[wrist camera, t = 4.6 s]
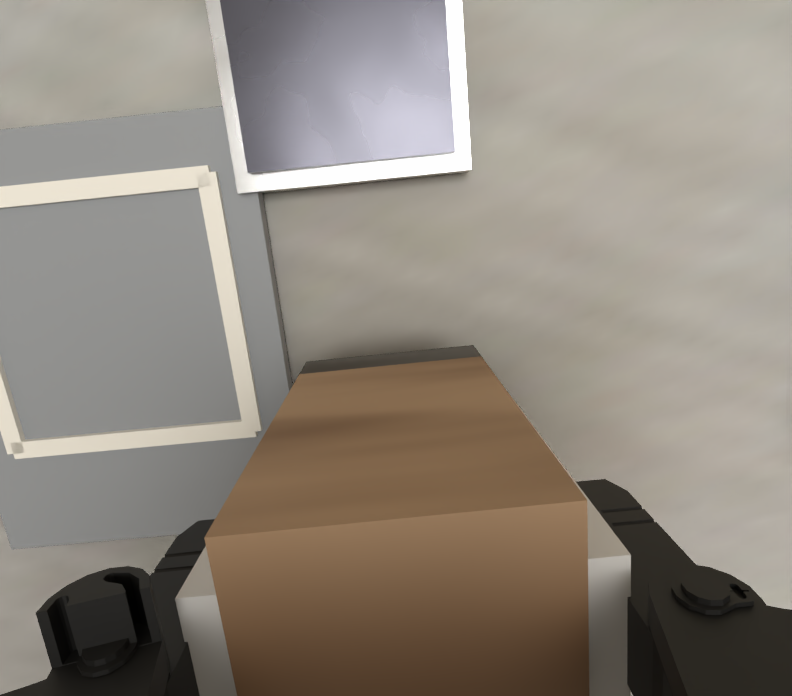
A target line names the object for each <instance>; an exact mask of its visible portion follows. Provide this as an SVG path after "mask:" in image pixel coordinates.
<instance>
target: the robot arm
mask: <svg viewBox="0 0 792 696" xmlns="http://www.w3.org/2000/svg"><path fill="white" fill-rule="evenodd" d="M512 399H513V398H512ZM513 400H514V399H513ZM515 403H516V402H515ZM516 404H517V403H516ZM517 406H518V405H517ZM518 407H519V406H518ZM519 408H520V407H519ZM520 410H521V409H520ZM521 411H522V410H521ZM522 412H523V411H522ZM523 414H524V413H523ZM524 415H525V414H524ZM525 416H526V415H525ZM526 418H527V417H526ZM527 419H528V418H527ZM528 420H529V419H528ZM529 422H530V421H529ZM530 423H531V422H530ZM531 425H532V423H531ZM532 426H533V425H532ZM533 427H534V426H533ZM534 429H535V427H534ZM535 430H536V429H535ZM536 431H537V430H536ZM537 433H538V431H537ZM538 434H539V433H538ZM539 435H540V434H539ZM540 437H541V435H540ZM541 438H542V437H541ZM542 439H543V438H542ZM543 441H544V442H545V440H544V439H543ZM545 444H546V445H547V446H548V444H547V443H546V442H545ZM548 448H549V449H550V450H551V448H550V447H549V446H548ZM551 452H552V453H553V454H554V452H553V451H552V450H551ZM554 456H555V457H556V458H557V456H556V455H555V454H554ZM557 460H558V461H559V463H560V464H561V465H562V467H563V468H564V469H565V471H566V472H567V473H568V475H569V476H570V477H571V479H572V480H573V482H574V483H575V484H576V486H577V487H578V488H579V490H580V491H581V492H582V494H583V495H584V496H585V498H586V499H587V515H588V610H589V696H630V690H631V692H632V694H633V696H792V610H789V609H782V608H777V607H771V606H766V604H765V603H764V601H763V600H762V599H761V598H760V597H759V596H758V595H757V594H756V592H755V591H754V590H753V589H752V588H751V587H750V586H748V585H747V584H745V583H743V582H742V581H740V580H738V579H737V578H735V577H733V576H732V575H730V574H727V573H724V572H721V571H718V570H716V569H713V568H710V567H705V566H698V565H696V564H695V563H694V562H693V561H692V560H691V559H690V558H689V557H688V556H687V555H686V554H685V553H684V551H683V550H682V549H681V548H680V547H679V546H678V545H677V544H676V543H675V542H674V541H673V540H672V539H671V537H670V536H669V535H668V534H667V533H666V532H665V531H664V530H663V529H662V528H661V527H660V526H659V525H658V523H657V522H655V523H654V520H653V518H652V517H651V516H650V515H649V514H648V513H647V512H646V511H645V509H642V507H641V505H640V504H639V503H638V502H637V501H636V500H635V499H634V498H633V497H632V495H631V494H630V493H629V492H628V491H626V490H625V489H623V488H621V487H619V486H617V485H615V484H613V483H611V482H609V481H608V480H606V479H601V480H591V481H581V482H575V480H574V479H573V478H572V476H571V475H570V474H569V472H568V471H567V470H566V468H565V467H564V466H563V464H562V463H561V462H560V460H559V459H558V458H557ZM214 520H215V519H210V520H199V521H197V522H196V523H194V524H193V525H192V526H190V527H189V528H188V529H187V530H185V531H184V532H183V533H181V534H180V535H179V536H177V538H176V539H175V541H174V542H173V544H172V545H171V546H170V548H169V549H168V551H167V552H166V554H165V558H162V560H161V561H160V562H159V564H158V565H157V567H156V568H155V573H152V574H151V575H150V576H149V575H148V574H147V573H146V572H145V571H144V570H143V569H140V568H135V567H129V566H126V567H117V568H109V569H106V570H103V571H99V572H96V573H93V574H90V575H87V576H85V577H83V578H81V579H79V580H77V581H75V582H73V583H71V584H69V585H67V586H66V587H64V588H63V589H61V590H60V591H59V592H57V593H56V594H54V595H53V596H52V597H50V598H49V599H48V600H47V601H46V602H45V603H44V604H43V606H42V607H41V608H40V609H39V610H38V611H37V612H36V615H37V619H38V622H39V625H40V629H41V632H42V636H43V639H44V642H45V646H46V649H47V653H48V656H49V659H50V663H51V666H52V670H51V672H50V674H49V676H48V678H47V679H45V680H43V681H40V682H38V683H35V684H32V685H29V686H26V687H23V688H20V689H17V690H14V691H11V692H8V693H5V694H2V695H0V696H237V693H236V688H235V683H234V678H233V674H232V669H231V664H230V659H229V654H228V650H227V645H226V640H225V635H224V630H223V626H222V621H221V616H220V611H219V606H218V602H217V597H216V592H215V587H214V582H213V578H212V573H211V568H210V563H209V558H208V554H207V549H206V544H205V539H204V537H205V536H206V534H207V532H208V531H209V529H210V527H211V525H212V524H213V522H214Z"/></svg>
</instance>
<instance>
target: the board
mask: <svg viewBox="0 0 792 696" xmlns="http://www.w3.org/2000/svg"><path fill="white" fill-rule="evenodd" d="M291 388H292V380H291V373H290V367H289V360H288V354H287V347H286V341H285V335H284V328H283V322H282V315H281V309H280V303H279V296H278V290H277V283H276V277H275V270H274V264H273V258H272V251H271V245H270V238H269V232H268V226H267V219H266V213H265V206H264V200H263V193H258V192H257V193H247V194H238V193H237V187H236V181H235V175H234V169H233V163H232V157H231V151H230V145H229V139H228V133H227V127H226V122H225V116H224V110H223V106H219V107H210V108H200V109H191V110H181V111H172V112H162V113H153V114H144V115H134V116H125V117H115V118H106V119H96V120H87V121H77V122H68V123H58V124H49V125H40V126H30V127H21V128H11V129H2V130H0V515H1V518H2V521H3V524H4V527H5V530H6V534H7V537H8V540H9V543H10V546H11V549H22V548H33V547H44V546H56V545H67V544H78V543H89V542H101V541H112V540H123V539H134V538H146V537H157V536H168V535H179V534H181V533H183V532H184V531H185V530H187V529H188V528H189V527H190V526H192V525H193V524H194V523H196V522H197V521H199V520H210V519H215V518H216V517H217V515H218V513H219V512H220V510H221V508H222V506H223V505H224V503H225V501H226V500H227V498H228V496H229V494H230V493H231V491H232V489H233V488H234V486H235V484H236V482H237V481H238V479H239V477H240V476H241V474H242V472H243V470H244V469H245V467H246V465H247V463H248V462H249V460H250V458H251V457H252V455H253V453H254V451H255V450H256V448H257V446H258V445H259V443H260V441H261V439H262V438H263V436H264V434H265V433H266V431H267V429H268V427H269V426H270V424H271V422H272V421H273V419H274V417H275V415H276V414H277V412H278V410H279V408H280V407H281V405H282V403H283V402H284V400H285V398H286V396H287V395H288V393H289V391H290V390H291Z"/></svg>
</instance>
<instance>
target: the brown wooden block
mask: <svg viewBox="0 0 792 696" xmlns="http://www.w3.org/2000/svg"><path fill="white" fill-rule="evenodd" d="M204 539H205V544H206V549H207V554H208V558H209V563H210V568H211V573H212V578H213V582H214V587H215V592H216V597H217V602H218V606H219V611H220V616H221V621H222V626H223V630H224V635H225V640H226V645H227V650H228V654H229V659H230V664H231V669H232V674H233V678H234V683H235V688H236V693H237V696H589V610H588V515H587V499H586V498H585V496H584V495H583V494H582V492H581V491H580V490H579V488H578V487H577V486H576V484H575V483H574V482H573V480H572V479H571V477H570V476H569V475H568V473H567V472H566V471H565V469H564V468H563V467H562V465H561V464H560V463H559V461H558V460H557V458H556V457H555V456H554V454H553V453H552V452H551V450H550V449H549V448H548V446H547V445H546V444H545V442H544V441H543V439H542V438H541V437H540V435H539V434H538V433H537V431H536V430H535V429H534V427H533V426H532V425H531V423H530V422H529V420H528V419H527V418H526V416H525V415H524V414H523V412H522V411H521V410H520V408H519V407H518V406H517V404H516V403H515V401H514V400H513V399H512V397H511V396H510V395H509V393H508V392H507V391H506V389H505V388H504V387H503V385H502V384H501V382H500V381H499V380H498V378H497V377H496V376H495V374H494V373H493V372H492V370H491V369H490V367H489V366H488V365H487V363H486V362H485V361H484V359H483V358H482V357H481V355H480V354H479V353H478V351H477V350H476V348H475V347H474V346H473V345H471V346H461V347H450V348H440V349H430V350H420V351H410V352H400V353H390V354H380V355H370V356H360V357H349V358H339V359H329V360H319V361H309V362H306V364H305V366H304V367H303V369H302V371H301V372H300V374H299V376H298V378H297V379H296V381H295V383H294V384H293V386H292V388H291V390H290V391H289V393H288V395H287V396H286V398H285V400H284V402H283V403H282V405H281V407H280V408H279V410H278V412H277V414H276V415H275V417H274V419H273V421H272V422H271V424H270V426H269V427H268V429H267V431H266V433H265V434H264V436H263V438H262V439H261V441H260V443H259V445H258V446H257V448H256V450H255V451H254V453H253V455H252V457H251V458H250V460H249V462H248V463H247V465H246V467H245V469H244V470H243V472H242V474H241V476H240V477H239V479H238V481H237V482H236V484H235V486H234V488H233V489H232V491H231V493H230V494H229V496H228V498H227V500H226V501H225V503H224V505H223V506H222V508H221V510H220V512H219V513H218V515H217V517H216V518H215V520H214V522H213V524H212V525H211V527H210V529H209V531H208V532H207V534H206V536H205V537H204Z"/></svg>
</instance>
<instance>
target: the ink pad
mask: <svg viewBox="0 0 792 696" xmlns="http://www.w3.org/2000/svg"><path fill="white" fill-rule="evenodd" d="M205 2H206V8H207V14H208V20H209V26H210V32H211V38H212V44H213V50H214V56H215V62H216V68H217V74H218V80H219V86H220V92H221V98H222V104H223V110H224V116H225V122H226V127H227V133H228V139H229V145H230V151H231V157H232V163H233V169H234V175H235V181H236V187H237V193H238V194H247V193H257V192H258V193H270V192H280V191H290V190H299V189H309V188H319V187H329V186H338V185H348V184H358V183H368V182H378V181H387V180H397V179H407V178H417V177H427V176H436V175H446V174H456V173H466V172H468V171H470V170H472V166H471V149H470V131H469V114H468V96H467V79H466V61H465V44H464V27H463V9H462V0H205Z"/></svg>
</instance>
